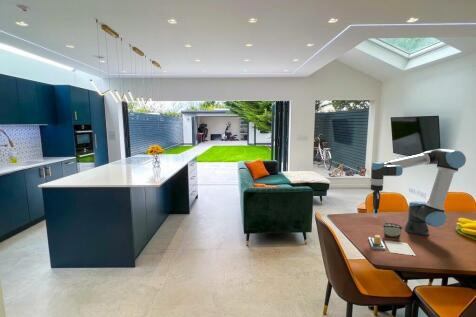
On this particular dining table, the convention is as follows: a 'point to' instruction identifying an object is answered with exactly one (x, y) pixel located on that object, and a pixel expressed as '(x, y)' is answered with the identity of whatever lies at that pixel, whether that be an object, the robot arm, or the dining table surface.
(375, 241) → the yellow block
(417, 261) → the dining table surface
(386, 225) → the food container
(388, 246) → the mat
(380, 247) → the panel
